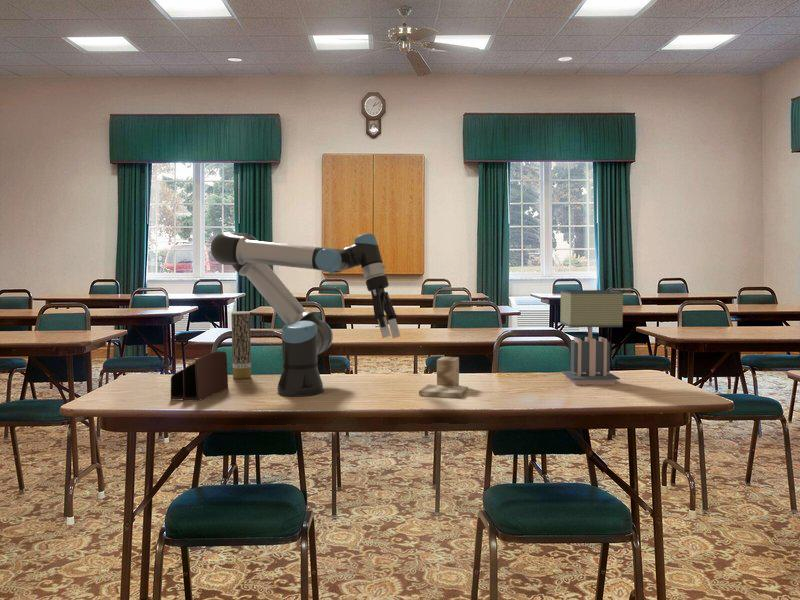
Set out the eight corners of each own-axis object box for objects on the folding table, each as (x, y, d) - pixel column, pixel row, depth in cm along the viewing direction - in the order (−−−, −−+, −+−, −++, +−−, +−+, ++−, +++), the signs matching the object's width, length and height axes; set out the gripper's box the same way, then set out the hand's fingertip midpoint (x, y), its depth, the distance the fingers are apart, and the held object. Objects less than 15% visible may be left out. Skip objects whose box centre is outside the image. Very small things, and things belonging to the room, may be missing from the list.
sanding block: (436, 388, 214) (436, 360, 213) (442, 384, 221) (442, 356, 221) (453, 389, 212) (453, 360, 211) (458, 385, 219) (458, 357, 219)
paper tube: (231, 377, 237) (229, 311, 236) (248, 375, 241) (247, 311, 239) (235, 380, 231) (233, 313, 230) (253, 378, 235) (251, 312, 233)
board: (418, 395, 203) (418, 390, 203) (427, 388, 214) (427, 384, 214) (461, 398, 199) (461, 393, 199) (467, 391, 209) (467, 386, 209)
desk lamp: (608, 377, 232) (609, 290, 230) (622, 385, 218) (623, 292, 216) (559, 377, 232) (560, 290, 230) (569, 385, 218) (570, 292, 216)
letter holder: (228, 389, 216) (227, 348, 215) (198, 401, 197) (197, 357, 196) (202, 388, 219) (201, 348, 218) (170, 400, 199) (168, 356, 198)
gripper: (375, 270, 202) (393, 333, 199) (394, 278, 226) (410, 334, 223) (354, 277, 203) (371, 339, 200) (375, 284, 227) (390, 340, 225)
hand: (391, 337), depth 212 cm, fingers open, 13 cm apart
